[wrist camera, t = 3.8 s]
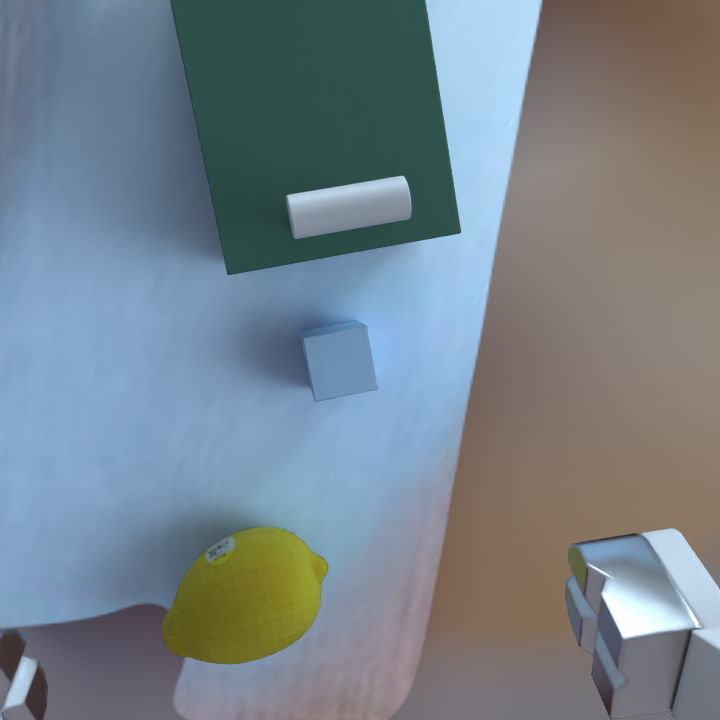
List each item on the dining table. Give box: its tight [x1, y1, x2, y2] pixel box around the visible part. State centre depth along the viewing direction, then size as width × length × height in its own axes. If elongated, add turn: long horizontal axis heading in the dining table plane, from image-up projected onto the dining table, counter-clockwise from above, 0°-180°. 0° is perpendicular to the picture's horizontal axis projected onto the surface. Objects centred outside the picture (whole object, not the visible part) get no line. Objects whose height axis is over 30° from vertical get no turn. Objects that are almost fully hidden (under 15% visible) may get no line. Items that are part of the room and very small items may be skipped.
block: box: [300, 321, 378, 402], centre depth 42 cm, size 4×4×5 cm
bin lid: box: [170, 0, 461, 275], centre depth 31 cm, size 19×13×6 cm, turn 11°
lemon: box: [162, 527, 328, 664], centre depth 42 cm, size 11×8×8 cm
